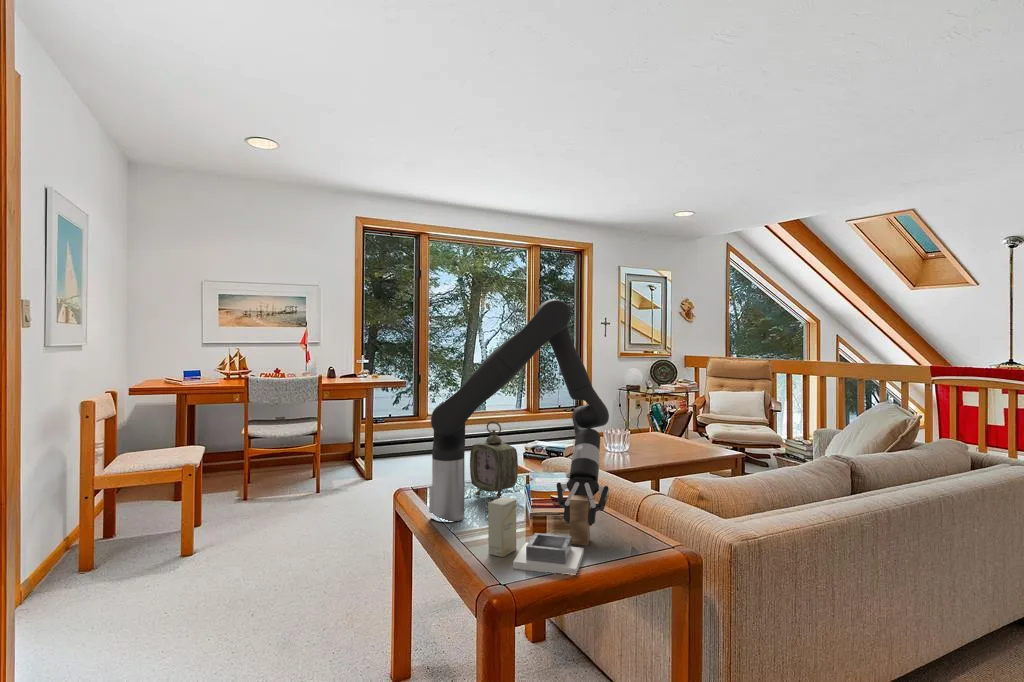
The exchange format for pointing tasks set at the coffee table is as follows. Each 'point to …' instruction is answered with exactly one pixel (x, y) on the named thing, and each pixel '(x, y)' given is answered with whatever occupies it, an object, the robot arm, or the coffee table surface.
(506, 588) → the coffee table surface
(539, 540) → the mount board
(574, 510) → the walnut peg
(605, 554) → the coffee table surface
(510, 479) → the tabletop clock
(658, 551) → the coffee table surface
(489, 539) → the skincare box
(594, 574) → the coffee table surface
